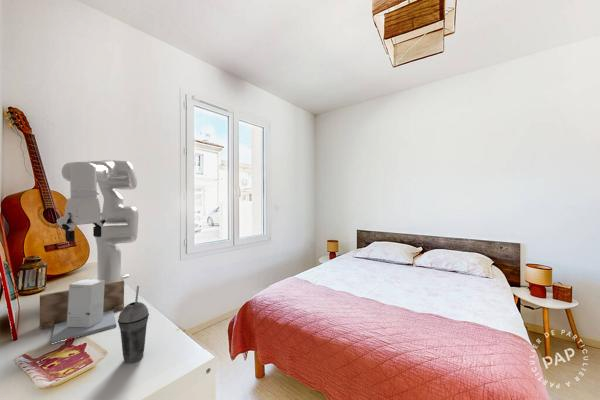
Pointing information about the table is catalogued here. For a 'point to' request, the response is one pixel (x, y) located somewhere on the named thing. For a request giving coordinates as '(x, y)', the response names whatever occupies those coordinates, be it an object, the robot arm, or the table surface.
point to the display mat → (66, 332)
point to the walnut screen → (57, 303)
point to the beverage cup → (133, 330)
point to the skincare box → (85, 303)
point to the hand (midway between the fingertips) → (84, 238)
